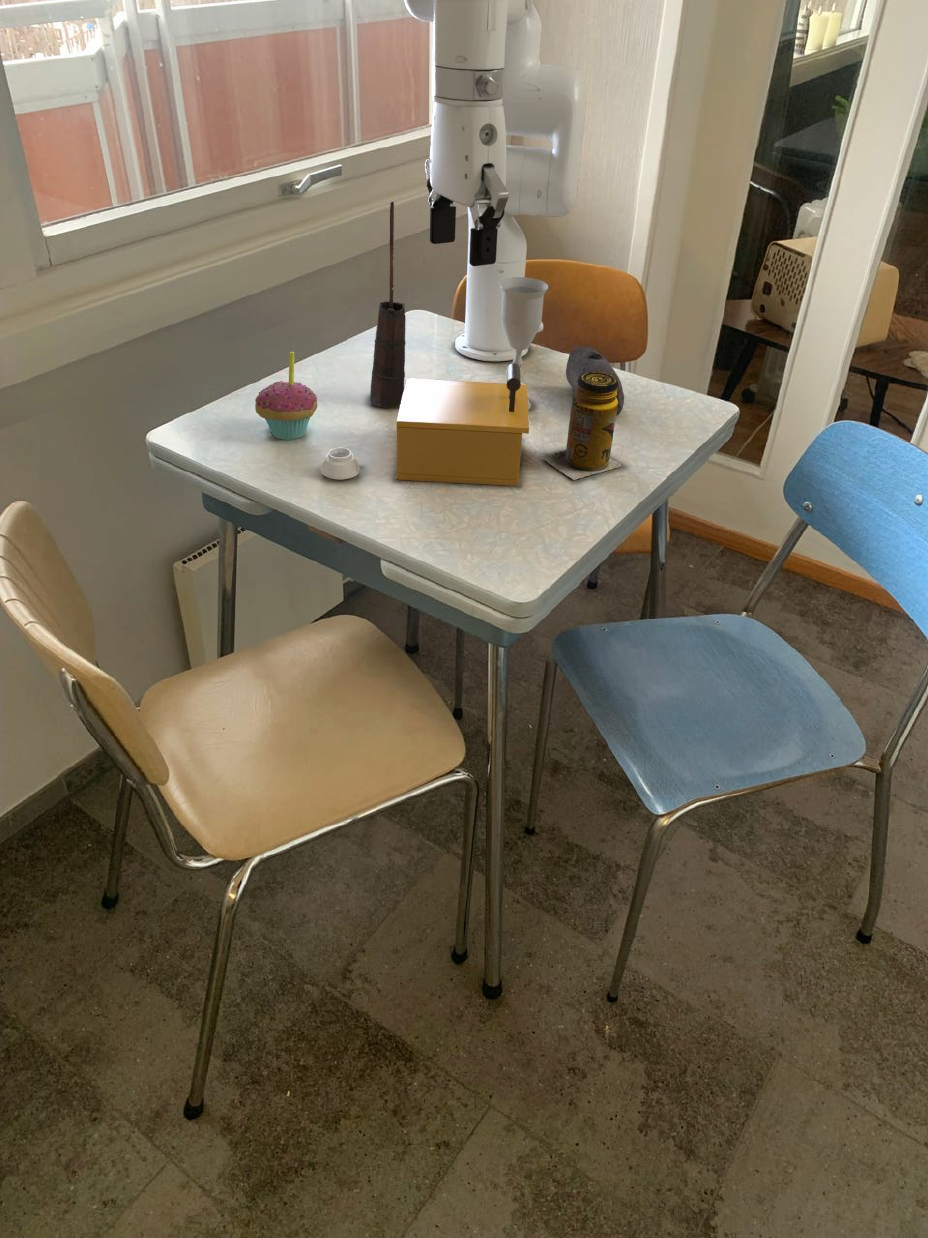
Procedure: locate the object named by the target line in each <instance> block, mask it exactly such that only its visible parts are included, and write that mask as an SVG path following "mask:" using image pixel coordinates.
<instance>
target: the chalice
mask: <svg viewBox="0 0 928 1238" xmlns="http://www.w3.org/2000/svg"><path fill="white" fill-rule="evenodd" d="M500 286H501V289H502V292H503V295H502V311H501V321H502V325H503V329H504V332H505V335H506V337H507V340H508V343H509V345H510V347H511V348H513V349H515V353H516V355H515V358H514V359H513V360H512V363H515V364H517V365H519V367H520V377H522V376H523V375H524V374H523V373H522V370H521V368H522V365H524V361H523V356H521V354H522V351H523V350H525V349H527V348H528V349H529V347H530V346H531V344H532V342H533V340H534V339H535V337H536V336H537V334H538V332H537V331H538V329H539V326H540V324H541V321H542V320H543V307H544V298H545V294H546V293H547V291H548V289H549V285H548V284H547V283H546V282H545V281H543V280H540V279H538V278H533V277H527V276H525V277H510V278H506V279H503V280H501V281H500ZM542 322H543V321H542ZM531 407H532V404H531V402H530V398H529V397H528V410H530V409H531Z"/></svg>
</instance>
